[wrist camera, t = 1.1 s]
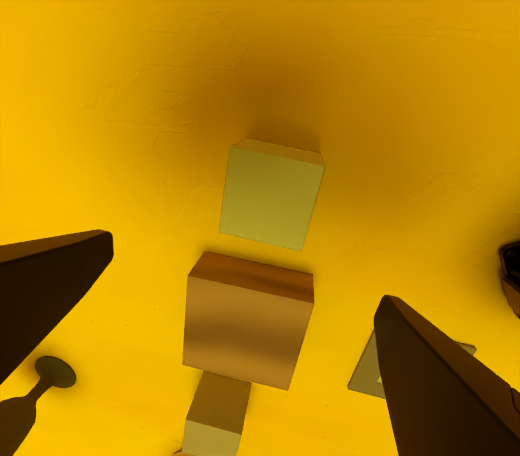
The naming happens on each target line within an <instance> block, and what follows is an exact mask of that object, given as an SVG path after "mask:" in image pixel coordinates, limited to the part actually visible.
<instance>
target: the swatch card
mask: <svg viewBox="0 0 520 456" xmlns="http://www.w3.org/2000/svg"><path fill="white" fill-rule="evenodd" d="M456 343H457V344H458V345H460V346H461V347H462V348H464V349H465V350H466V351H467V352H469V353H470V354H471V355H472V356H473V355H474V353H475V352H476V350H477V349H476V348H475V347H474V346H470V345H466V344H462V343H458V342H456ZM348 389H349V390H353V391H357V392H360V393H364V394H368V395H372V396H376V397H380V398H384V399H386V397H385V393H384V389H383V384H382V380H381V376H380V371H379V365H378V357H377V348H376V339H375V330H374V331H373V333H372V335H371V337H370V339H369V341H368V343H367V346H366V348H365V350H364V352H363V354H362V356H361V359H360V361H359V363H358V365H357V367H356V369H355V371H354V374H353V376H352V378H351V380H350V382H349V384H348Z"/></svg>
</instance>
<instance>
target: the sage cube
mask: <svg viewBox="0 0 520 456" xmlns="http://www.w3.org/2000/svg"><path fill="white" fill-rule="evenodd" d="M324 169H325V165H324V162H323V160H322V157H321V154H320V153H317V152H312V151H308V150H303V149H298V148H293V147H288V146H284V145H279V144H274V143H269V142H264V141H260V140H255V139H250V138H246V139H244V140H242V141H240V142H238V143H236V144H234V145H232V146H230V150H229V157H228V165H227V172H226V180H225V187H224V195H223V202H222V210H221V217H220V225H219V232H220V233H224V234H228V235H233V236H237V237H241V238H246V239H250V240H254V241H259V242H263V243H267V244H272V245H276V246H280V247H285V248H289V249H293V250H298V251H302V248H303V244H304V241H305V237H306V233H307V230H308V226H309V223H310V219H311V215H312V212H313V208H314V205H315V201H316V198H317V194H318V190H319V187H320V183H321V180H322V176H323V172H324Z"/></svg>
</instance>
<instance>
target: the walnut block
mask: <svg viewBox="0 0 520 456" xmlns="http://www.w3.org/2000/svg"><path fill="white" fill-rule="evenodd" d="M313 307H314V288H313V274H308V273H303V272H299V271H294V270H290V269H285V268H280V267H276V266H271V265H266V264H262V263H257V262H252V261H248V260H243V259H238V258H234V257H229V256H224V255H220V254H215V253H210V252H206V251H205V252H204V253H203V255H202V256H201V257H200V259H199V260H198V262H197V263H196V264H195V266H194V267H193V269H192V270H191V272H190V273H189V274H188V279H187V295H186V312H185V328H184V345H183V362H182V365H185V366H190V367H194V368H198V369H202V370H206V371H210V372H214V373H218V374H222V375H226V376H230V377H234V378H238V379H242V380H246V381H250V382H254V383H258V384H262V385H267V386H271V387H275V388H279V389H283V390H287V391H288V390H289V386H290V383H291V380H292V376H293V373H294V370H295V366H296V363H297V360H298V356H299V353H300V350H301V346H302V343H303V340H304V336H305V333H306V330H307V327H308V323H309V320H310V317H311V313H312V310H313Z"/></svg>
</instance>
